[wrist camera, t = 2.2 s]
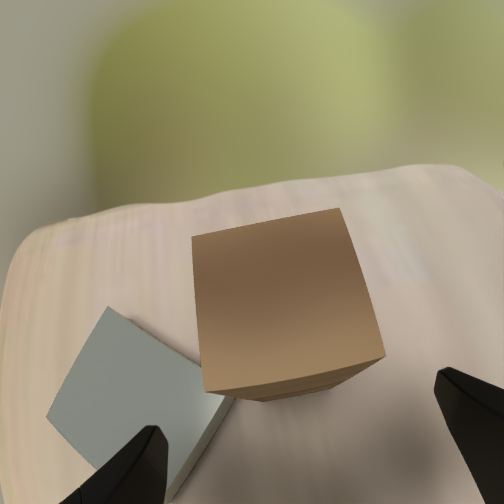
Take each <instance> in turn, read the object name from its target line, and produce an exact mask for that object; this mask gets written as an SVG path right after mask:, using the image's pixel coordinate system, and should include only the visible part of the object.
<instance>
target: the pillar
mask: <svg viewBox="0 0 504 504" xmlns="http://www.w3.org/2000/svg"><path fill="white" fill-rule="evenodd" d="M192 256H193V273H194V288H195V302H196V315H197V327H198V338H199V348H200V358H201V368H202V377H203V385H204V392H207V393H212V394H218V395H223V396H229V397H234V398H240V399H246V400H253V401H260V402H263V401H269V400H275V399H281V398H287V397H292V396H297V395H302V394H307V393H312V392H317V391H321V390H326V389H330V388H333V387H335V386H337V385H338V384H340V383H342V382H344V381H346V380H347V379H349V378H351V377H353V376H354V375H356V374H358V373H359V372H361V371H363V370H364V369H366V368H368V367H369V366H371V365H373V364H374V363H376V362H378V361H379V360H381V359H382V358H384V357H385V356H386V354H385V350H384V346H383V342H382V339H381V335H380V331H379V327H378V324H377V320H376V317H375V313H374V310H373V306H372V303H371V299H370V296H369V293H368V289H367V286H366V283H365V280H364V277H363V274H362V270H361V267H360V264H359V261H358V258H357V255H356V252H355V249H354V247H353V244H352V241H351V238H350V235H349V232H348V229H347V227H346V224H345V221H344V219H343V216H342V213H341V210H340V208H334V209H329V210H323V211H318V212H313V213H307V214H302V215H297V216H292V217H286V218H281V219H276V220H271V221H266V222H261V223H256V224H251V225H246V226H241V227H236V228H231V229H226V230H222V231H217V232H212V233H207V234H203V235H198V236H193V237H192Z"/></svg>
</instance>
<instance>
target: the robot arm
mask: <svg viewBox="0 0 504 504" xmlns="http://www.w3.org/2000/svg"><path fill="white" fill-rule="evenodd" d="M434 394H435V397H436V399H437V401H438V404H439V406H440V409H441V411H442V414H443V416H444V419H445V421H446V424H447V426H448V429H449V431H450V433H451V435H452V437H453V438H454V440H455V442H456V444H457V446H458V448H459V450H460V452H461V454H462V456H463V458H464V460H465V462H466V464H467V466H468V468H469V470H470V472H471V474H472V476H473V478H474V480H475V482H476V484H477V487H478V489H479V491H480V493H481V495H482V497H483V500H484V502H485V504H504V389H502V388H499V387H497V386H494V385H492V384H490V383H487V382H485V381H482V380H480V379H478V378H475V377H473V376H470V375H468V374H466V373H463V372H461V371H459V370H456V369H454V368H452V367H446V368H443V369H441V370H439V371H438V372H437V376H436V381H435V386H434ZM168 452H169V444H168V440H167V439H166V437H165V435H164V434H163V432H162V430H161V429H160V427H159V426H158V425H146V426H144V427H143V428H142V429H141V430H140V431H139V432H138V433H137V434H136V435H135V436H134V437H133V438H132V439H131V440H130V441H129V442H128V443H127V444H126V445H125V446H123V447H122V448H121V449H120V450H119V451H118V452H117V453H116V454H115V455H114V456H113V457H112V458H111V459H110V460H108V461H107V462H106V463H105V464H104V465H103V466H102V467H101V468H100V469H99V470H98V471H96V472H95V473H94V474H93V475H92V476H91V477H90V478H89V479H88V480H86V481H85V482H84V483H83V484H82V485H81V486H80V488H77V489H76V490H75V491H74V492H73V493H72V494H70V495H69V496H68V497H67V498H66V499H64V500H63V501H62V502H60V503H59V504H164V500H165V494H166V487H167V475H168Z"/></svg>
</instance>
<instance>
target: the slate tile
mask: <svg viewBox="0 0 504 504" xmlns="http://www.w3.org/2000/svg"><path fill="white" fill-rule="evenodd" d="M234 400H235V398H234V397H229V396H223V395H218V394H212V393H207V392H204V385H203V377H202V368H201V366H200V365H198V364H196V363H195V362H193V361H191V360H190V359H188V358H187V357H185V356H183V355H182V354H180V353H178V352H177V351H175V350H174V349H172V348H171V347H169V346H167V345H166V344H164V343H163V342H161V341H160V340H158V339H157V338H155V337H154V336H152V335H151V334H149V333H148V332H146V331H145V330H143V329H142V328H140V327H139V326H137V325H136V324H134V323H133V322H132V321H130V320H129V319H127V318H126V317H124V316H123V315H121V314H119V313H118V312H116V311H115V310H113V309H112V308H110V307H109V306H107V308H106V310H105V311H104V313H103V314H102V316H101V318H100V319H99V321H98V323H97V324H96V326H95V328H94V329H93V331H92V333H91V334H90V336H89V338H88V339H87V341H86V343H85V344H84V346H83V348H82V350H81V351H80V353H79V355H78V357H77V358H76V360H75V362H74V364H73V366H72V367H71V369H70V371H69V373H68V375H67V377H66V379H65V380H64V382H63V384H62V386H61V388H60V390H59V392H58V394H57V396H56V398H55V400H54V402H53V404H52V406H51V408H50V410H49V412H48V414H47V416H46V418H47V419H48V420H49V421H50V423H51V424H52V425H53V426H54V427H55V428H56V429H57V431H58V432H59V433H60V434H61V435H62V436H63V437H64V438H65V439H66V440H67V441H68V442H69V443H70V444H71V446H72V447H73V448H74V449H75V450H76V451H77V452H78V453H79V454H80V455H81V456H82V457H84V458H85V459H86V460H87V461H88V462H89V463H90V464H91V465H92V466H93V467H94V468H95V469H96V470H97V471H98V470H99V469H100V468H101V467H102V466H103V465H104V464H105V463H106V462H107V461H108V460H110V459H111V458H112V457H113V456H114V455H115V454H116V453H117V452H118V451H119V450H120V449H121V448H122V447H123V446H125V445H126V444H127V443H128V442H129V441H130V440H131V439H132V438H133V437H134V436H135V435H136V434H137V433H138V432H139V431H140V430H141V429H142V428H143V427H144V426H146V425H158V426H159V427H160V429H161V430H162V432H163V434H164V435H165V437H166V439H167V440H168V444H169V452H168V475H167V487H166V494H165V500H164V504H168V503H170V502H171V501H172V499H173V498H174V496H175V495H176V493H177V492H178V490H179V489H180V487H181V486H182V484H183V483H184V481H185V480H186V478H187V476H188V475H189V473H190V472H191V470H192V469H193V467H194V466H195V464H196V462H197V461H198V459H199V458H200V456H201V455H202V453H203V451H204V450H205V448H206V447H207V445H208V443H209V442H210V440H211V438H212V437H213V435H214V434H215V432H216V430H217V429H218V427H219V425H220V424H221V422H222V420H223V419H224V417H225V415H226V414H227V412H228V410H229V408H230V407H231V405H232V403H233V402H234Z"/></svg>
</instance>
